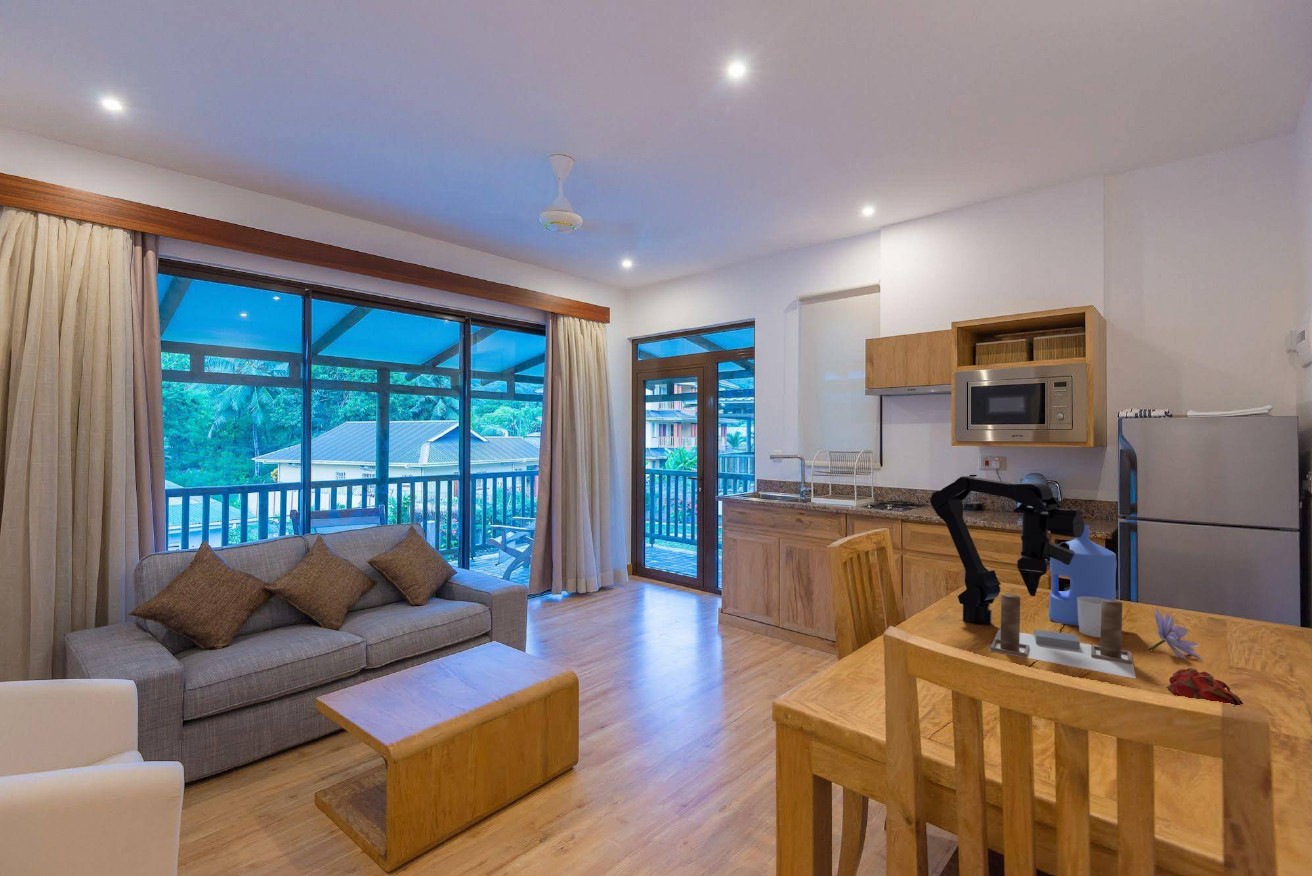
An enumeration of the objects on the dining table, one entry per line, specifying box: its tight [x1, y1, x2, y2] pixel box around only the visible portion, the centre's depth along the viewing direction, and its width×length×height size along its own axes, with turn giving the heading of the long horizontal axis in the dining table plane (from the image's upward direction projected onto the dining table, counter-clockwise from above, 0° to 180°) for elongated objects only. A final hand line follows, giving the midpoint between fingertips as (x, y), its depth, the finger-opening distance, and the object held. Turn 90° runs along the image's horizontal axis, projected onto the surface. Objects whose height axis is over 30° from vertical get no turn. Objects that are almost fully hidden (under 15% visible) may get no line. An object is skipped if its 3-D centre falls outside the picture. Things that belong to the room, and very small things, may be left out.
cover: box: [1033, 628, 1081, 650], centre depth 152 cm, size 9×6×2 cm, turn 62°
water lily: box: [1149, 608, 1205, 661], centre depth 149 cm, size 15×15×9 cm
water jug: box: [1048, 524, 1118, 627], centre depth 172 cm, size 16×16×28 cm
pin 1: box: [1000, 593, 1021, 652], centre depth 148 cm, size 4×4×13 cm
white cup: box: [1077, 596, 1103, 639], centre depth 160 cm, size 8×8×10 cm
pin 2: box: [1099, 599, 1123, 659], centre depth 144 cm, size 4×4×13 cm
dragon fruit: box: [1166, 667, 1247, 706], centre depth 118 cm, size 8×8×12 cm
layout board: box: [989, 628, 1137, 680], centre depth 147 cm, size 28×20×2 cm
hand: (1034, 592), depth 156 cm, fingers open, 9 cm apart
